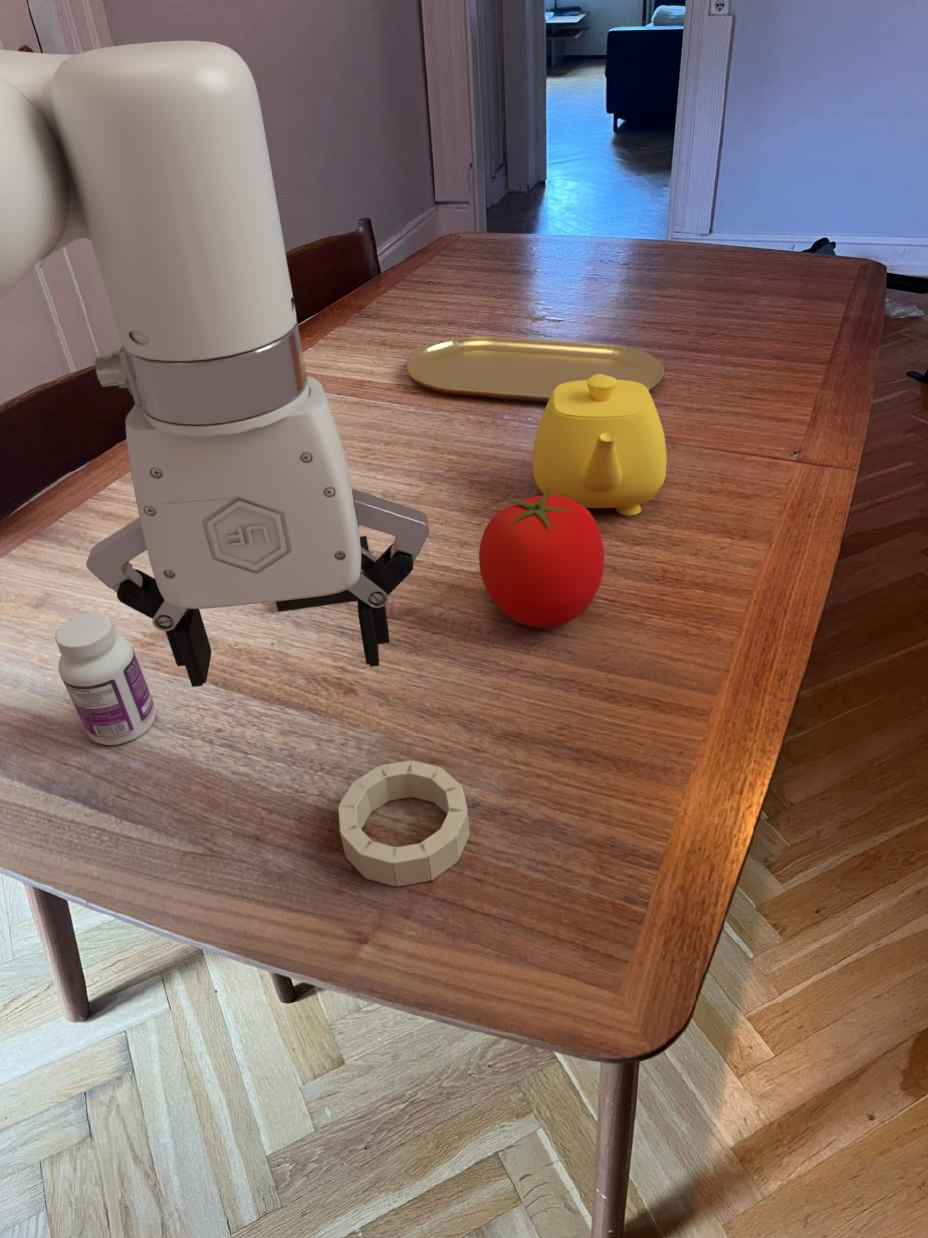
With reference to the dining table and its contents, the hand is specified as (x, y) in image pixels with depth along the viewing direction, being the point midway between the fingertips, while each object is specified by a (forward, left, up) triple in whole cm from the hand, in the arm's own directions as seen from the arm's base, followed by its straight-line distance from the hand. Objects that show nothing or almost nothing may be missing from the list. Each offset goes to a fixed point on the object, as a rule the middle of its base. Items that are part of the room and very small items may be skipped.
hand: (288, 660), depth 50 cm
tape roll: (+5, -1, -16) cm, 17 cm away
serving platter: (+31, +72, -16) cm, 80 cm away
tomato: (+20, +21, -16) cm, 33 cm away
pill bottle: (-16, +15, -16) cm, 27 cm away
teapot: (+30, +38, -16) cm, 51 cm away
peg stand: (+1, +31, -16) cm, 35 cm away
